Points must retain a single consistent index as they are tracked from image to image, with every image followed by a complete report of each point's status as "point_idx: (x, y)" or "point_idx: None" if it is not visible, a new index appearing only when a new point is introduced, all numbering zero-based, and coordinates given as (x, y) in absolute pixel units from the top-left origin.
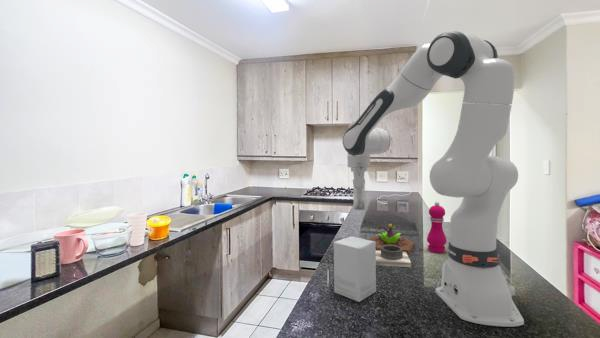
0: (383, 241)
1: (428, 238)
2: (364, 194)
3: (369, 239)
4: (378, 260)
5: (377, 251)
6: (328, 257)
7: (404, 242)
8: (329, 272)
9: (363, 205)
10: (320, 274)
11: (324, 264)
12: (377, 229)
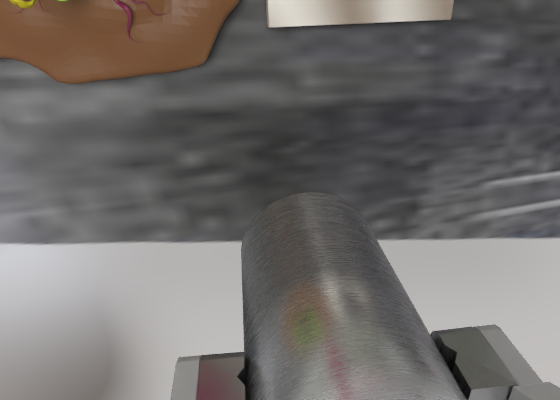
0: None
1: None
2: (395, 338)
3: (57, 62)
4: (440, 3)
5: (287, 5)
6: None
7: None
8: (507, 206)
9: (367, 232)
10: (522, 231)
11: (428, 237)
12: (34, 2)
